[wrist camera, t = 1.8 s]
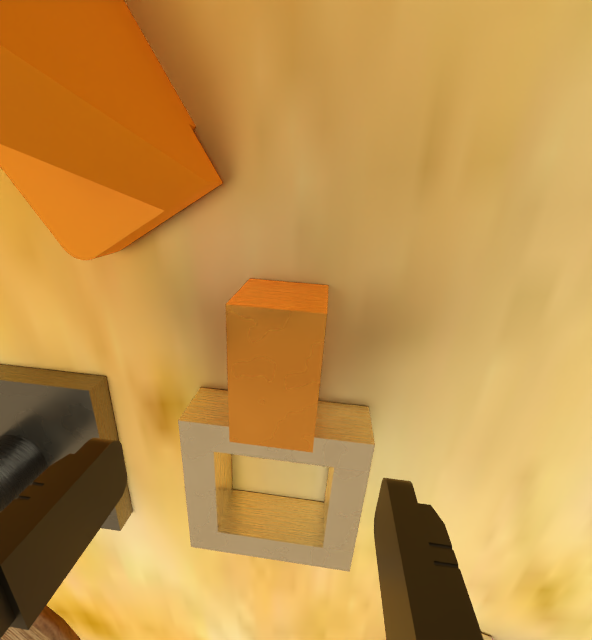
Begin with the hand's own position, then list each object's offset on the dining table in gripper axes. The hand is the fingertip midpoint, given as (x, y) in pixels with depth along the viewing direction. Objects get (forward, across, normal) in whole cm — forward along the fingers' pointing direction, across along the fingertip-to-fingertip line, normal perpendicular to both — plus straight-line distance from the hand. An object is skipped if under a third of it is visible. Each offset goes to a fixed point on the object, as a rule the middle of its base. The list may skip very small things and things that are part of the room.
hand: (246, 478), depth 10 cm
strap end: (+9, 0, +5) cm, 10 cm away
